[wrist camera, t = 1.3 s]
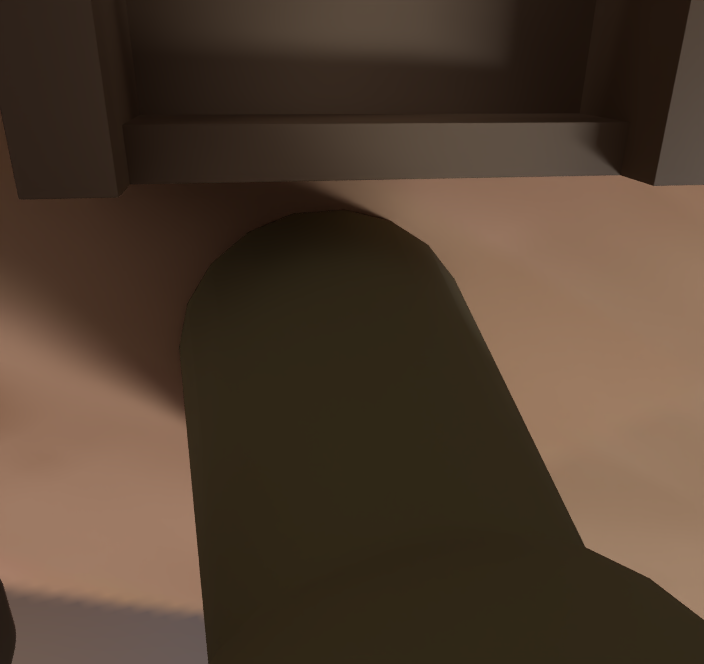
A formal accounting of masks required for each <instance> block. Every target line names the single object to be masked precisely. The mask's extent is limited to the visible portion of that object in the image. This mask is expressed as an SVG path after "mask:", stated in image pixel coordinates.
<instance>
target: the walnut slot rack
mask: <svg viewBox="0 0 704 664" xmlns="http://www.w3.org/2000/svg"><path fill="white" fill-rule="evenodd" d="M0 109H1V114H2V119H3V124H4V129H5V134H6V139H7V144H8V148H9V153H10V158H11V163H12V168H13V173H14V178H15V183H16V188H17V193H18V197H19V199H65V198H111V197H119V196H120V195H121V194H122V193H123V192H124V190H125V189H126V188H127V187H128V186H129V185H130V184H170V183H224V182H277V181H330V180H384V179H437V178H491V177H544V176H598V175H622V176H625V177H628V178H631V179H634V180H637V181H641V182H644V183H647V184H650V185H653V186H667V185H704V0H0Z"/></svg>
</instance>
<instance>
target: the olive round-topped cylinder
mask: <svg viewBox="0 0 704 664" xmlns="http://www.w3.org/2000/svg"><path fill="white" fill-rule="evenodd" d="M179 350H180V361H181V372H182V382H183V393H184V404H185V415H186V426H187V437H188V448H189V458H190V469H191V480H192V491H193V502H194V513H195V523H196V534H197V545H198V556H199V567H200V578H201V589H202V599H203V610H204V621H205V632H206V643H207V652H208V653H207V654H208V664H704V620H703V619H702V618H700V617H699V616H698V615H697V614H695V613H694V612H693V611H691V610H690V609H689V608H687V607H686V606H685V605H684V604H682V603H681V602H680V601H678V600H677V599H676V598H674V597H673V596H672V595H671V594H669V593H668V592H667V591H665V590H664V589H663V588H661V587H660V586H659V585H658V584H656V583H655V582H654V581H652V580H651V579H650V578H648V577H646V576H644V575H641V574H639V573H637V572H635V571H633V570H631V569H629V568H627V567H625V566H623V565H621V564H619V563H617V562H615V561H613V560H610V559H608V558H606V557H604V556H602V555H600V554H598V553H596V552H594V551H592V550H590V549H588V548H586V547H585V546H584V544H583V542H582V540H581V537H580V535H579V533H578V531H577V529H576V527H575V525H574V523H573V521H572V519H571V517H570V515H569V513H568V511H567V509H566V507H565V505H564V503H563V501H562V499H561V496H560V494H559V492H558V490H557V488H556V486H555V484H554V482H553V480H552V478H551V476H550V474H549V472H548V470H547V468H546V466H545V464H544V462H543V460H542V458H541V456H540V453H539V451H538V449H537V447H536V445H535V443H534V441H533V439H532V437H531V435H530V433H529V431H528V429H527V427H526V425H525V423H524V421H523V419H522V417H521V415H520V412H519V410H518V408H517V406H516V404H515V402H514V400H513V398H512V396H511V394H510V392H509V390H508V388H507V386H506V384H505V382H504V380H503V378H502V376H501V374H500V372H499V369H498V367H497V365H496V363H495V361H494V359H493V357H492V355H491V353H490V351H489V349H488V347H487V345H486V343H485V341H484V339H483V337H482V335H481V333H480V331H479V329H478V326H477V324H476V322H475V320H474V318H473V316H472V314H471V312H470V310H469V308H468V306H467V304H466V302H465V300H464V298H463V296H462V294H461V292H460V290H459V288H458V285H457V283H456V281H455V279H454V278H453V277H452V275H451V274H450V273H449V271H448V270H447V269H446V268H445V266H444V265H443V264H442V262H441V261H440V260H439V258H438V257H437V256H436V255H435V253H434V252H433V251H432V249H431V248H430V247H429V245H427V244H426V243H424V242H422V241H421V240H419V239H418V238H416V237H415V236H413V235H411V234H410V233H408V232H407V231H405V230H404V229H402V228H401V227H399V226H397V225H396V224H394V223H393V222H391V221H388V220H384V219H380V218H376V217H372V216H368V215H364V214H360V213H356V212H351V211H347V210H333V211H321V212H308V213H295V214H292V215H290V216H287V217H285V218H282V219H280V220H278V221H275V222H273V223H270V224H268V225H265V226H263V227H260V228H258V229H256V230H253V231H251V232H248V233H247V234H246V235H245V236H244V237H242V238H241V239H240V240H239V241H238V242H237V243H235V244H234V245H233V246H232V247H231V248H229V249H228V250H227V251H226V252H225V253H224V254H222V255H221V256H220V257H219V258H218V259H217V260H215V261H214V262H213V263H212V264H211V265H210V267H209V269H208V270H207V272H206V274H205V275H204V277H203V279H202V280H201V282H200V284H199V285H198V287H197V289H196V290H195V292H194V294H193V296H192V297H191V299H190V301H189V302H188V304H187V309H186V314H185V320H184V325H183V330H182V335H181V341H180V346H179Z"/></svg>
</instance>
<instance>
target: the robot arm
mask: <svg viewBox="0 0 704 664" xmlns="http://www.w3.org/2000/svg"><path fill="white" fill-rule="evenodd" d="M15 643H16V629H15V624H14V621H13V617H12V614H11V610H10V607H9V603H8V600H7V596H6V593H5V589H4V586H3V583H2V581H1V580H0V664H11V663H12V659H13V655H14V650H15Z"/></svg>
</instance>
